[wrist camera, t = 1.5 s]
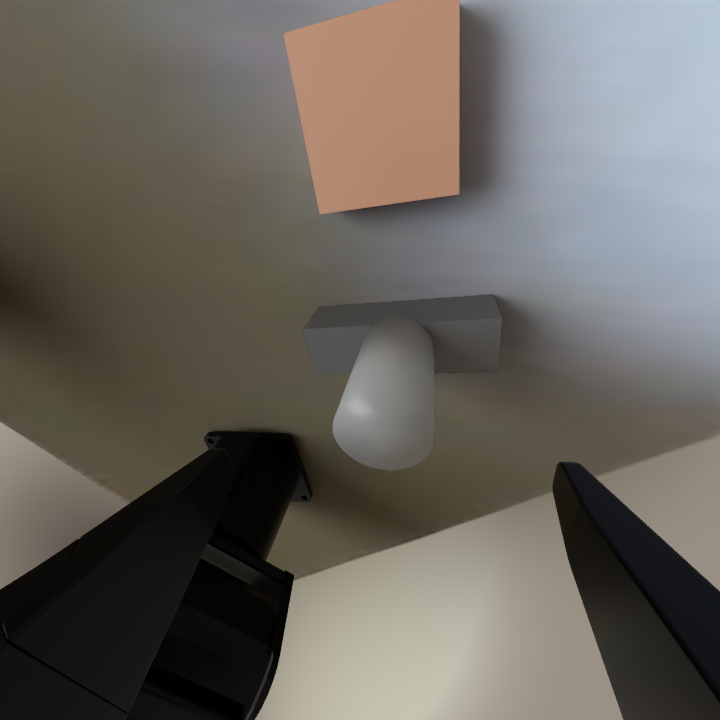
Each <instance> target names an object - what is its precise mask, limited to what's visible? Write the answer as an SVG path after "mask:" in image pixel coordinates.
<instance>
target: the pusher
mask: <svg viewBox="0 0 720 720" xmlns="http://www.w3.org/2000/svg"><path fill="white" fill-rule="evenodd" d="M501 328H502V316H501V314H500V311H499V309H498V306H497V304H496V301H495V299H494V296H493V294H492V295H478V296H464V297H450V298H436V299H422V300H408V301H394V302H380V303H366V304H352V305H338V306H324V307H319V308H318V309H317V311H316V312H315V313H314V315H313V316H312V317H311V319H310V320H309V321H308V323H307V324H306V326H305V327H304V328H303V332H304V335H305V339H306V343H307V347H308V350H309V354H310V358H311V362H312V365H313V369H314V373H315V375H346V374H351V375H350V378H349V380H348V383H347V386H346V388H345V391H344V394H343V396H342V399H341V402H340V404H339V407H338V410H337V412H336V415H335V418H334V421H333V434H334V437H335V440H336V441H337V443H338V445H339V446H340V448H341V449H342V450H343V451H344V452H345V453H346V454H347V455H348V456H350V457H351V458H352V459H354V460H356V461H357V462H359V463H361V464H363V465H366V466H369V467H372V468H376V469H381V470H401V469H406V468H409V467H412V466H414V465H417V464H418V463H420V462H422V461H423V460H424V459H425V458H426V457H427V456H428V455H429V453H430V452H431V450H432V448H433V444H434V373H455V372H498V367H499V354H500V341H501Z"/></svg>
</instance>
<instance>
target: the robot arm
mask: <svg viewBox="0 0 720 720" xmlns="http://www.w3.org/2000/svg"><path fill="white" fill-rule="evenodd" d="M204 441H205V443H206V445H207V446H208V448H209V450H208V451H206V452H205V453H203V454H202V455H200V456H199V457H197V458H196V459H194V460H193V461H191V462H190V463H188V464H187V465H186V466H184V467H183V468H181V469H180V470H178V471H177V472H175V473H174V474H172V475H171V476H169V477H168V478H167V479H165V480H164V481H162V482H161V483H159V484H158V485H156V486H155V487H153V488H152V489H150V490H149V491H147V492H146V493H145V494H143V495H142V496H140V497H139V498H137V499H136V500H134V501H133V502H131V503H130V504H128V505H127V506H125V507H124V508H123V509H121V510H120V511H118V512H117V513H115V514H114V515H112V516H111V517H109V518H108V519H107V520H105V521H104V522H102V523H101V524H99V525H98V526H96V527H95V528H93V529H92V530H90V531H89V532H87V533H86V534H85V535H83V536H82V537H81V538H80V539H77V540H76V541H74V542H73V543H71V544H70V545H69V546H67V547H66V548H64V549H63V550H61V551H60V552H58V553H56V554H55V555H53V556H52V557H50V558H49V559H47V560H46V561H44V562H43V563H41V564H40V565H38V566H37V567H36V568H34V569H32V570H31V571H29V572H27V573H26V574H24V575H23V576H21V577H20V578H18V579H16V580H15V581H13V582H12V583H10V584H8V585H7V586H5V587H4V588H2V589H0V720H255V718H256V717H257V715H258V713H259V711H260V710H261V708H262V706H263V704H264V701H265V699H266V697H267V695H268V693H269V690H270V688H271V685H272V682H273V679H274V676H275V673H276V670H277V666H278V661H279V657H280V652H281V646H282V641H283V635H284V630H285V624H286V618H287V613H288V607H289V602H290V596H291V590H292V585H293V579H294V575H293V574H291V573H290V572H288V571H282V570H281V569H279V568H277V567H275V566H273V565H272V564H270V563H268V562H266V559H267V557H268V554H269V552H270V549H271V547H272V545H273V542H274V540H275V537H276V535H277V532H278V530H279V528H280V525H281V523H282V520H283V518H284V516H285V513H286V511H287V508H288V506H289V503H290V501H297V502H310V501H311V498H312V491H311V488H310V485H309V482H308V480H307V477H306V474H305V471H304V468H303V465H302V463H301V460H300V457H299V454H298V451H297V448H296V445H295V443H294V440H293V438H292V437H291V436H290V435H287V434H270V433H236V432H209V433H208V434H207V435H206V436H205V437H204ZM553 495H554V499H555V504H556V508H557V512H558V517H559V521H560V526H561V530H562V535H563V539H564V543H565V547H566V552H567V556H568V560H569V563H570V566H571V569H572V572H573V575H574V578H575V581H576V584H577V587H578V590H579V593H580V595H581V599H582V601H583V604H584V607H585V610H586V613H587V616H588V619H589V622H590V625H591V627H592V630H593V633H594V636H595V639H596V642H597V645H598V647H599V650H600V653H601V656H602V659H603V662H604V665H605V668H606V671H607V674H608V677H609V679H610V682H611V685H612V688H613V691H614V694H615V696H616V700H617V703H618V705H619V708H620V711H621V714H622V717H623V719H624V720H720V591H719V590H718V589H716V588H715V587H714V586H713V585H712V584H711V583H710V582H709V581H708V580H707V579H706V578H704V577H703V576H702V575H701V574H700V573H699V572H698V571H697V570H696V569H695V568H693V567H692V566H691V565H690V564H689V563H688V562H687V561H686V560H685V559H683V557H681V556H680V555H679V554H678V553H677V552H676V551H675V550H674V549H673V548H672V547H670V546H669V545H668V544H667V543H666V542H665V541H664V540H663V539H662V538H661V537H660V536H658V535H657V534H656V533H655V532H654V531H653V530H652V529H651V528H650V527H649V526H647V525H646V524H645V523H644V522H643V521H642V520H641V519H640V518H639V517H638V516H637V515H635V514H634V513H633V512H632V511H631V510H630V509H629V508H628V507H627V506H626V505H624V504H623V503H622V502H621V501H620V500H619V499H618V498H617V497H616V496H615V495H614V494H612V493H611V492H610V491H609V490H608V489H607V488H606V487H605V486H604V485H603V484H602V483H600V482H599V481H598V480H597V479H596V478H595V477H594V476H593V475H592V474H591V473H589V472H588V471H587V470H586V469H585V468H584V467H583V466H582V465H580V464H579V463H576V462H559V463H558V465H557V468H556V472H555V477H554V481H553Z"/></svg>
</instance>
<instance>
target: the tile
mask: <svg viewBox="0 0 720 720" xmlns="http://www.w3.org/2000/svg"><path fill="white" fill-rule="evenodd" d="M284 38H285V43H286V48H287V53H288V58H289V63H290V68H291V73H292V78H293V83H294V88H295V93H296V98H297V103H298V108H299V113H300V118H301V123H302V128H303V133H304V138H305V143H306V148H307V153H308V158H309V163H310V168H311V173H312V178H313V183H314V188H315V193H316V198H317V203H318V208H319V213H320V214H326V213H333V212H340V211H347V210H354V209H361V208H368V207H375V206H382V205H389V204H395V203H402V202H409V201H416V200H423V199H430V198H437V197H444V196H451V195H458V194H459V57H460V0H395V1H391V2H388V3H385V4H381V5H378V6H375V7H371V8H368V9H364V10H361V11H358V12H354V13H351V14H348V15H344V16H341V17H337V18H334V19H331V20H327V21H324V22H320V23H317V24H314V25H310V26H307V27H304V28H300V29H297V30H293V31H290V32H287V33H284Z"/></svg>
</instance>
